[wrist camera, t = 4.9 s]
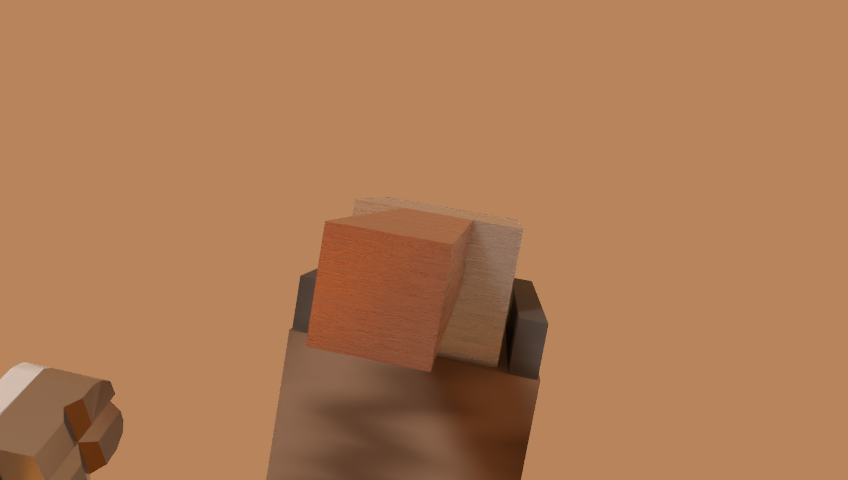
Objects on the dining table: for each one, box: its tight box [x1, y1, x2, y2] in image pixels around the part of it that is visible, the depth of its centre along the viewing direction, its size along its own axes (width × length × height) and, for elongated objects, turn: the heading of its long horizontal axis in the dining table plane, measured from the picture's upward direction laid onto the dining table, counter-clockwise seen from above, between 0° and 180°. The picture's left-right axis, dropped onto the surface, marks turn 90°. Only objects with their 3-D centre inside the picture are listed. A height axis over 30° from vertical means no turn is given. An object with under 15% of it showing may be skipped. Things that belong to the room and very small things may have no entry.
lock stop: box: [306, 197, 523, 372], centre depth 20 cm, size 6×17×5 cm, turn 173°
